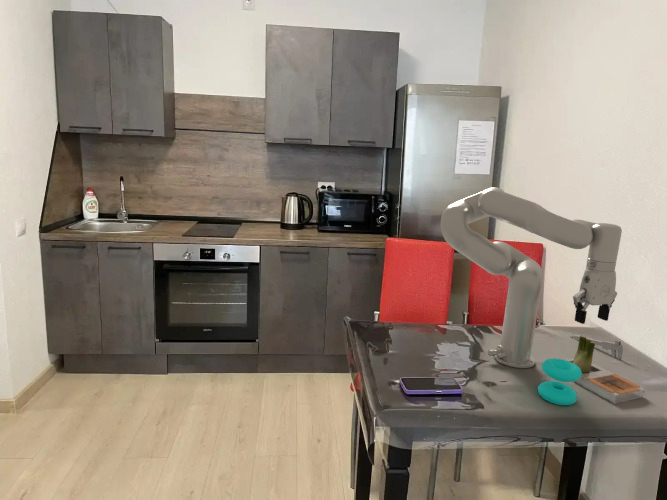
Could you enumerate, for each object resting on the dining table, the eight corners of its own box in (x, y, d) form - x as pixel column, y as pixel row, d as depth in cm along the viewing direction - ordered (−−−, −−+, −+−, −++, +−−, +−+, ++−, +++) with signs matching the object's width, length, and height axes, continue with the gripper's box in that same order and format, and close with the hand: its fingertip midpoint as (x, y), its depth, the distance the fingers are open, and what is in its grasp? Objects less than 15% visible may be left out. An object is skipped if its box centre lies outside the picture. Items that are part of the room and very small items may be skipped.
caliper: (621, 360, 168) (624, 343, 167) (618, 361, 168) (622, 343, 167) (571, 337, 187) (574, 321, 185) (569, 337, 186) (572, 321, 185)
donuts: (534, 357, 140) (564, 355, 143) (529, 390, 143) (558, 387, 146) (560, 374, 131) (591, 371, 134) (553, 408, 133) (584, 405, 136)
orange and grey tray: (614, 403, 138) (615, 394, 138) (551, 368, 158) (552, 360, 157) (643, 397, 143) (645, 388, 143) (578, 364, 163) (580, 356, 162)
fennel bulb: (590, 379, 152) (598, 342, 149) (573, 377, 153) (580, 340, 150) (585, 371, 158) (592, 335, 155) (568, 368, 159) (575, 333, 156)
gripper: (590, 270, 141) (580, 328, 145) (632, 267, 148) (622, 322, 151) (568, 264, 147) (560, 319, 151) (609, 261, 154) (600, 314, 158)
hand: (591, 320), depth 151 cm, fingers open, 9 cm apart
